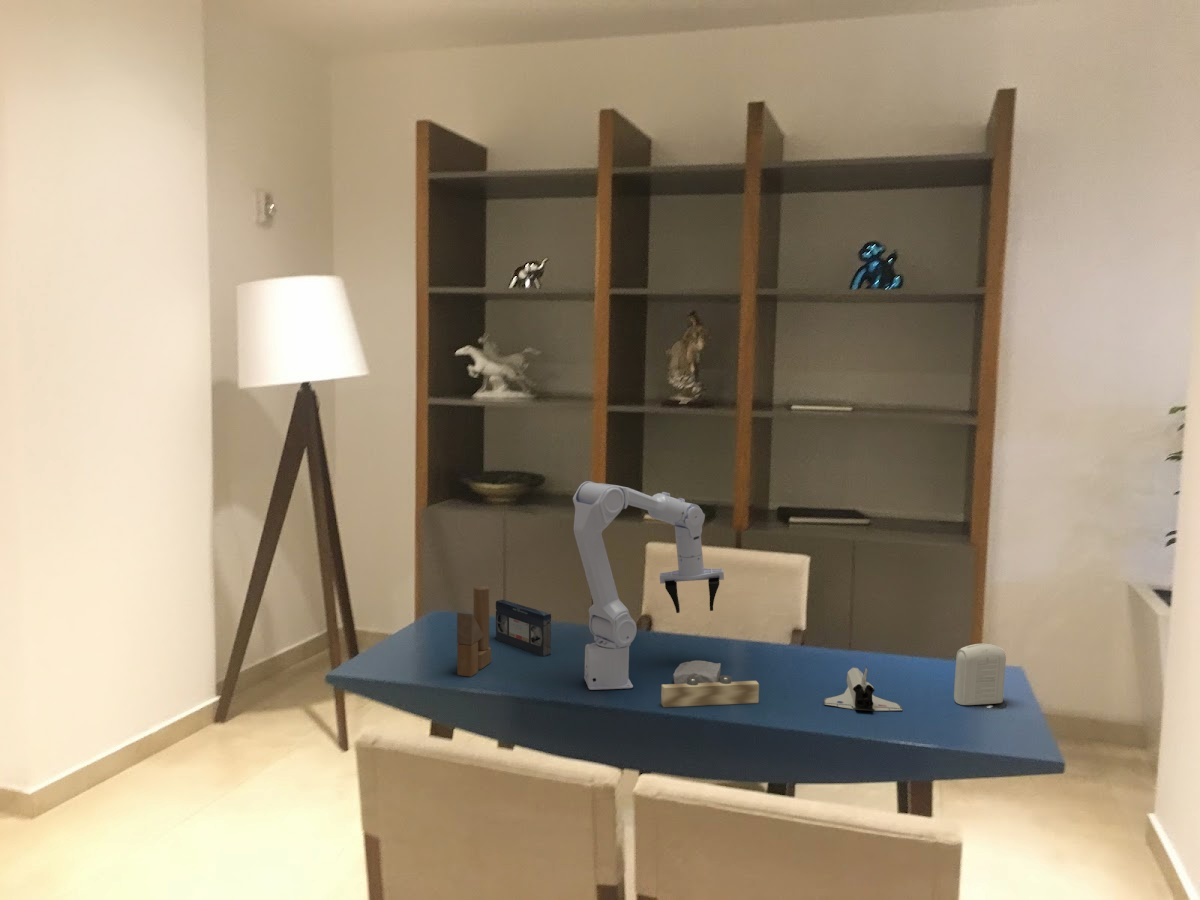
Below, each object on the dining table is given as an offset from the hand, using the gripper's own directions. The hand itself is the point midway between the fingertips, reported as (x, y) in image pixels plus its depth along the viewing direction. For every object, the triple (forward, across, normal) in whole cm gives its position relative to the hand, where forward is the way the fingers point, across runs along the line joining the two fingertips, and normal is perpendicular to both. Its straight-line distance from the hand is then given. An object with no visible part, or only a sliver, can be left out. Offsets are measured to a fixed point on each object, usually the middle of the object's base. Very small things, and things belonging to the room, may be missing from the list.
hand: (694, 610), depth 217 cm
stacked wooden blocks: (+6, +50, +12) cm, 52 cm away
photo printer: (+17, -58, +18) cm, 63 cm away
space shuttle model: (+16, -34, +16) cm, 40 cm away
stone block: (+12, +1, +14) cm, 18 cm away
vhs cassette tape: (+9, +42, -5) cm, 44 cm away
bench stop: (+10, -2, +26) cm, 28 cm away
